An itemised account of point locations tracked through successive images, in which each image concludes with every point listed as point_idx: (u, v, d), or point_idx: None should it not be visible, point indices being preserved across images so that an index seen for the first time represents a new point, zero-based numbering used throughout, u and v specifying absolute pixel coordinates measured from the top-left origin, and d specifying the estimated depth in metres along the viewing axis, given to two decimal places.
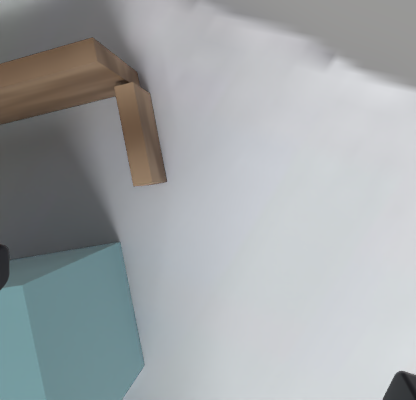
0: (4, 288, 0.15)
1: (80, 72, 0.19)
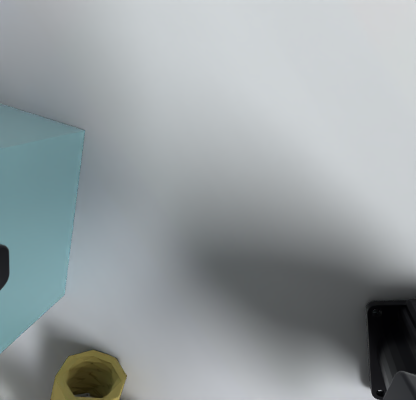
0: None
1: None
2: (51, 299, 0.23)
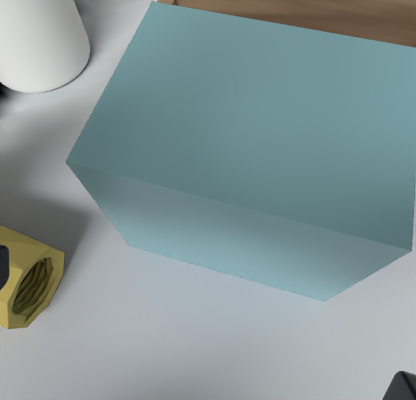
0: (399, 46, 0.15)
1: None
2: (133, 240, 0.20)
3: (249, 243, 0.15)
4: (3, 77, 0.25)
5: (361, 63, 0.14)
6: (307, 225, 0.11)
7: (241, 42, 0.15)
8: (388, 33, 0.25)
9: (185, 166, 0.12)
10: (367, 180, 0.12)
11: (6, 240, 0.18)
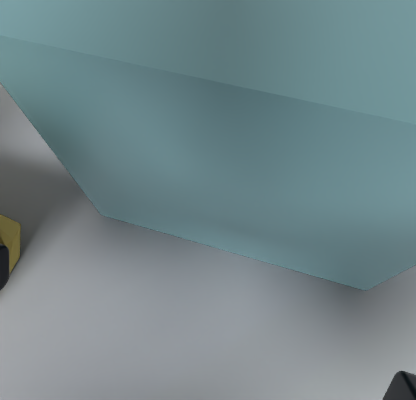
0: None
1: None
2: (104, 204, 0.15)
3: (271, 188, 0.09)
4: None
5: None
6: (392, 123, 0.06)
7: None
8: None
9: (166, 32, 0.07)
10: None
11: None
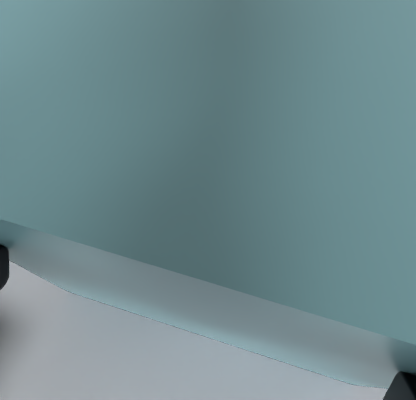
0: None
1: None
2: (67, 288, 0.13)
3: (237, 323, 0.08)
4: None
5: None
6: (368, 331, 0.05)
7: None
8: None
9: (93, 184, 0.06)
10: None
11: None
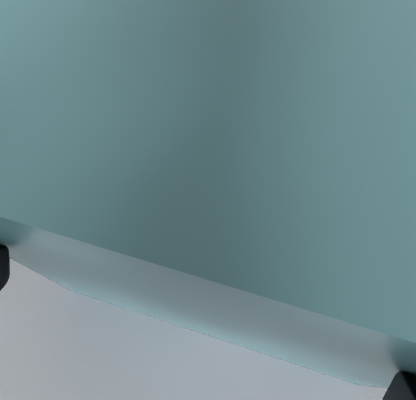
0: None
1: None
2: (70, 286, 0.13)
3: (242, 324, 0.08)
4: None
5: None
6: (380, 334, 0.05)
7: None
8: None
9: (98, 183, 0.06)
10: None
11: None
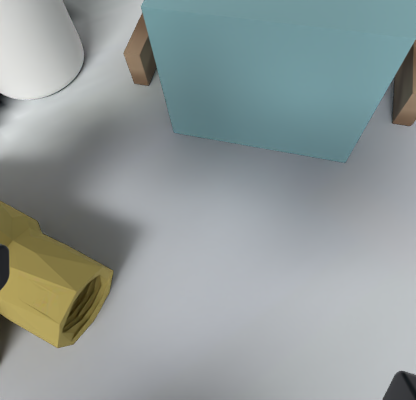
0: None
1: None
2: (179, 121, 0.24)
3: (285, 81, 0.18)
4: None
5: None
6: (334, 31, 0.15)
7: None
8: None
9: (235, 2, 0.16)
10: None
11: (60, 257, 0.18)
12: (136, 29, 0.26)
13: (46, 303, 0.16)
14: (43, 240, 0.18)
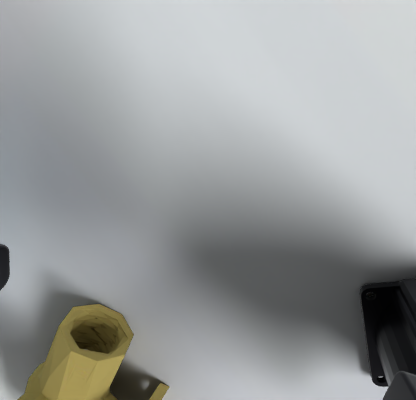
0: None
1: None
2: None
3: None
4: None
5: None
6: None
7: None
8: None
9: None
10: None
11: (52, 358, 0.21)
12: None
13: (83, 370, 0.20)
14: (43, 367, 0.22)
